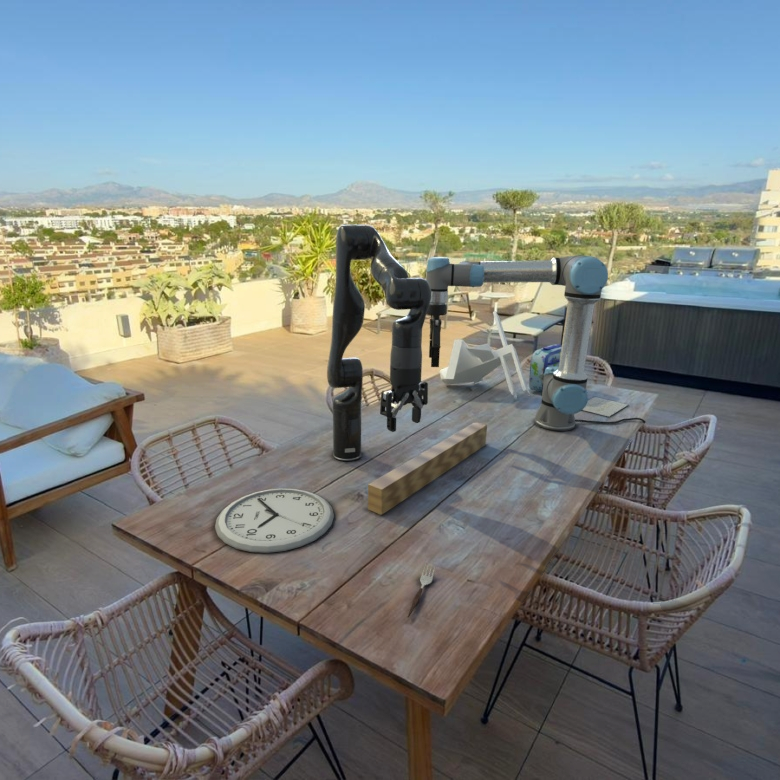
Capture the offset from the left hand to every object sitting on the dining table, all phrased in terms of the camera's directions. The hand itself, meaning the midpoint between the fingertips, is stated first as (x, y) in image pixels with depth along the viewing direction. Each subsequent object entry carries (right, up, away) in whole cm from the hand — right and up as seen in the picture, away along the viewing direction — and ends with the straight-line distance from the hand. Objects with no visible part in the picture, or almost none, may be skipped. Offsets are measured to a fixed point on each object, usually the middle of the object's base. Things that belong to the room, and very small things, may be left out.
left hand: (404, 426), depth 130 cm
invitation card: (+88, +2, +97) cm, 131 cm away
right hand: (+12, +19, +59) cm, 63 cm away
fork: (+3, -34, -21) cm, 40 cm away
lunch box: (+73, +9, +121) cm, 141 cm away
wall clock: (-33, -24, +6) cm, 42 cm away
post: (+10, -17, +33) cm, 39 cm away
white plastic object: (+38, +8, +114) cm, 120 cm away
